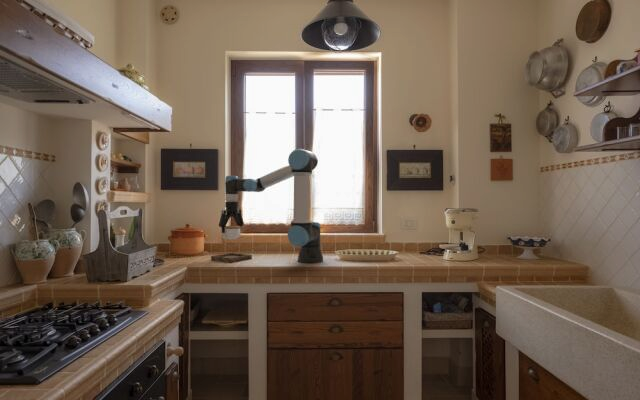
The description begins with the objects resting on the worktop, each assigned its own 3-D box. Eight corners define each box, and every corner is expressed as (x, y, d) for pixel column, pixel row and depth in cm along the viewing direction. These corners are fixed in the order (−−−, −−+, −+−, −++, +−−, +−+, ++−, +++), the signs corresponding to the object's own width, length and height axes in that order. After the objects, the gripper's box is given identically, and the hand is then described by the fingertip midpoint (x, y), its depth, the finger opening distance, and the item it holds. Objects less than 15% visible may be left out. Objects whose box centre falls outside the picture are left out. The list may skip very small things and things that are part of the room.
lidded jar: (230, 240, 230) (230, 224, 230) (218, 239, 236) (218, 223, 236) (244, 238, 238) (244, 223, 238) (232, 237, 245) (232, 222, 245)
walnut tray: (251, 259, 240) (251, 254, 240) (230, 262, 226) (230, 258, 226) (232, 256, 249) (232, 252, 249) (211, 260, 235) (211, 256, 235)
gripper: (241, 201, 249) (241, 235, 249) (212, 201, 230) (212, 238, 230) (249, 201, 245) (249, 236, 245) (221, 201, 225) (221, 239, 226)
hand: (231, 237), depth 237 cm, fingers closed on lidded jar, 11 cm apart
